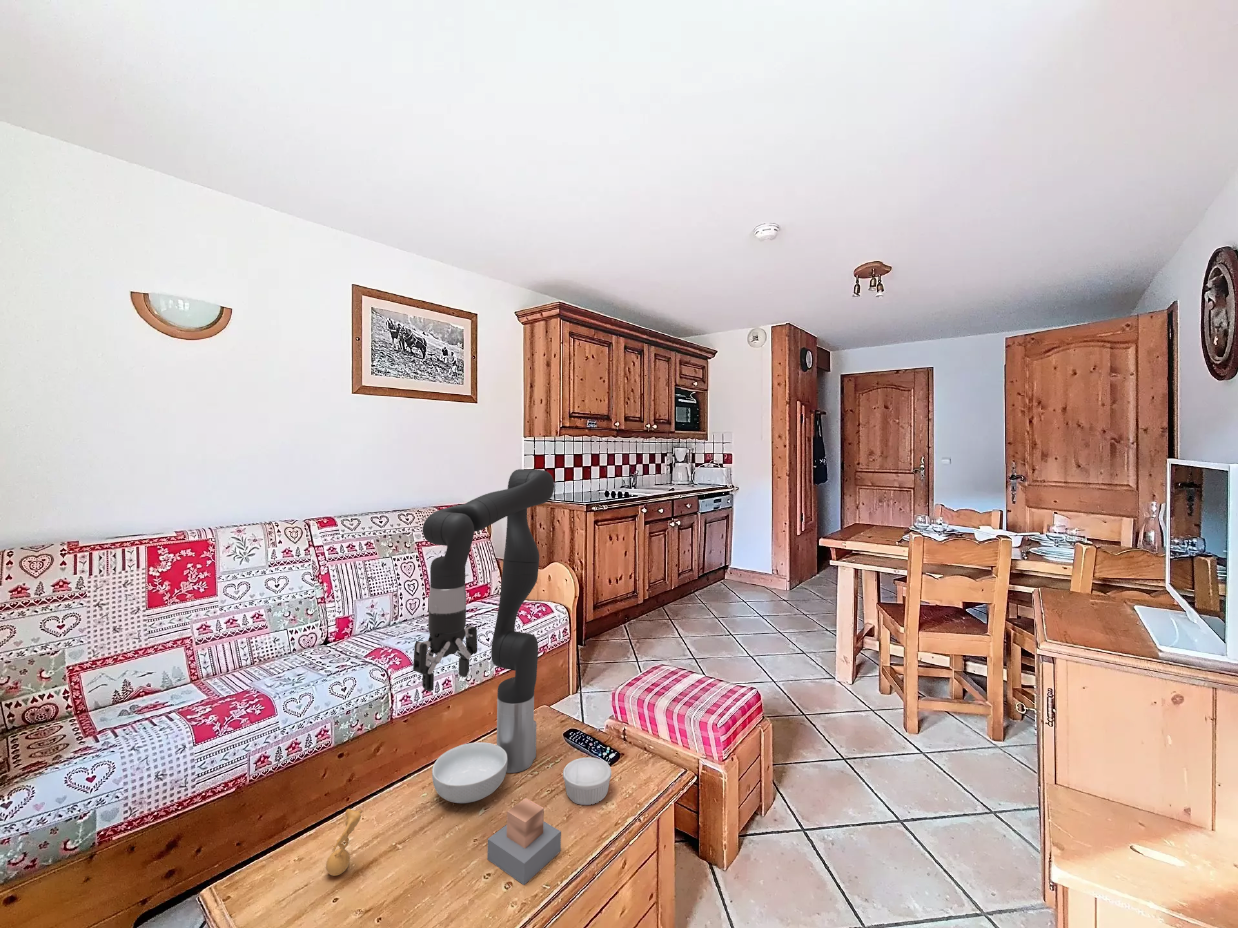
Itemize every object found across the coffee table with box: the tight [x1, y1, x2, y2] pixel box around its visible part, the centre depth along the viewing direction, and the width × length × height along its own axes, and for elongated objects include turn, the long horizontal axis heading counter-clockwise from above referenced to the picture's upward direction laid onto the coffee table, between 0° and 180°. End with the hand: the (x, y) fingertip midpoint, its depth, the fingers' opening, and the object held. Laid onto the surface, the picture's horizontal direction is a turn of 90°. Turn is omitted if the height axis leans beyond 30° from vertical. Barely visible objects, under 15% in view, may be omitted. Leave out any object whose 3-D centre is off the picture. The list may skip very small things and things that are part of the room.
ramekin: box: [562, 756, 612, 806], centre depth 119 cm, size 11×11×5 cm
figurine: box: [325, 808, 363, 877], centre depth 95 cm, size 8×6×12 cm
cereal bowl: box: [431, 741, 508, 804], centre depth 119 cm, size 17×17×7 cm
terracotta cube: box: [506, 797, 544, 848], centre depth 100 cm, size 5×5×5 cm
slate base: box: [486, 820, 562, 886], centre depth 100 cm, size 10×10×4 cm
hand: (446, 682), depth 108 cm, fingers open, 8 cm apart
